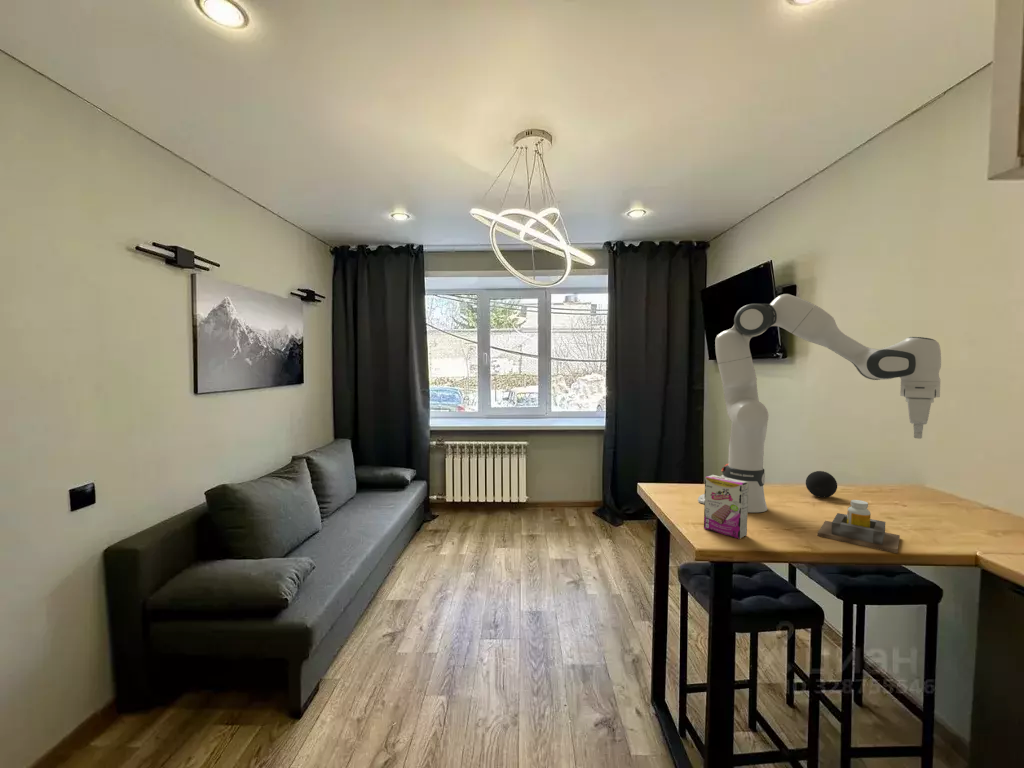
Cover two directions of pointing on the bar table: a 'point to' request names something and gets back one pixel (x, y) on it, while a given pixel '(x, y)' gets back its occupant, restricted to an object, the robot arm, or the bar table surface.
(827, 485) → the speaker
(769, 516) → the bar table surface
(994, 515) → the bar table surface
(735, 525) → the candy bar box
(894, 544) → the holder stand
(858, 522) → the supplement bottle
